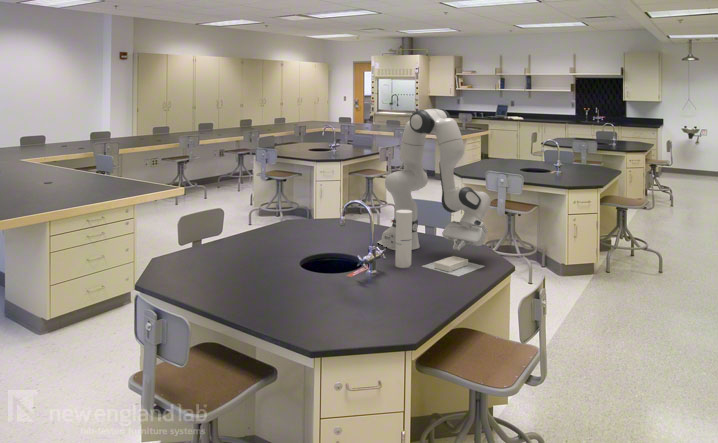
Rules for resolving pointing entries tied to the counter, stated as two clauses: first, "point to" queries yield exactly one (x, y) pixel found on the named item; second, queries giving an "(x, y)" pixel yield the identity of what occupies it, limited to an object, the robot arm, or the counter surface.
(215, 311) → the counter surface
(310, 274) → the counter surface
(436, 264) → the tile
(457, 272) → the mat
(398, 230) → the cylindrical container
